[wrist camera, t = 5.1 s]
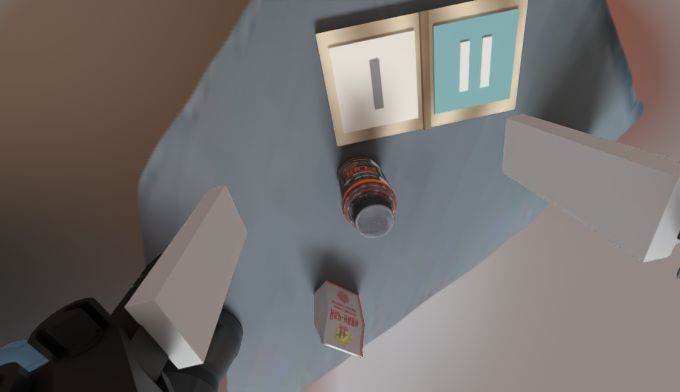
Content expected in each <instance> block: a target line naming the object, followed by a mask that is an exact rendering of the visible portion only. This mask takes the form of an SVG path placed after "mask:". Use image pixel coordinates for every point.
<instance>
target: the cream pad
mask: <svg viewBox="0 0 680 392" xmlns="http://www.w3.org/2000/svg"><path fill="white" fill-rule="evenodd" d="M328 49H329V55H330V60H331V66H332V72H333V77H334V83H335V88H336V94H337V99H338V105H339V110H340V116H341V121H342V127H343V133H348V132H353V131H358V130H363V129H368V128H372V127H377V126H382V125H387V124H391V123H396V122H401V121H406V120H410V119H415V118H418V97H417V75H416V53H415V31H409V32H405V33H400V34H395V35H390V36H386V37H381V38H376V39H371V40H366V41H362V42H357V43H352V44H347V45H343V46H338V47H333V48H328Z"/></svg>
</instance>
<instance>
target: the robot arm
mask: <svg viewBox="0 0 680 392" xmlns="http://www.w3.org/2000/svg"><path fill="white" fill-rule="evenodd" d="M502 173H504V174H505V175H507V176H508V177H510V178H512V179H513V180H515V181H516V182H518V183H519V184H521V185H523V186H524V187H526V188H527V189H529V190H530V191H532V192H533V193H535V194H537V195H538V196H540V197H541V198H543V199H544V200H546V201H548V202H549V203H551V204H552V205H554V206H555V207H557V208H558V209H560V210H562V211H563V212H565V213H566V214H568V215H570V216H571V217H573V218H574V219H576V220H577V221H579V222H581V223H582V224H583V225H585V226H587V227H589V228H590V229H591V230H593V231H594V232H596V233H598V234H599V235H601V236H602V237H604V238H605V239H607V240H609V241H610V242H612V243H613V244H615V245H616V246H618V247H619V248H621V249H623V250H624V251H626V252H627V253H629V254H630V255H632V256H634V257H635V258H637V259H638V260H640V261H641V262H647V261H652V260H656V259H661V258H664V257H669V256H670V254H671V251H672V250H673V247H674V245H675V243H676V241H677V239H679V240H680V161H677V160H673V159H670V158H667V157H664V156H660V155H657V154H654V153H650V152H647V151H644V150H641V149H637V148H634V147H630V146H627V145H624V144H620V143H617V142H614V141H611V140H608V139H604V138H601V137H598V136H594V135H591V134H588V133H584V132H581V131H578V130H575V129H571V128H568V127H565V126H561V125H558V124H555V123H551V122H548V121H545V120H542V119H538V118H535V117H532V116H528V115H525V114H520V115H516V116H512V117H508V118H506V129H505V142H504V154H503V167H502ZM246 235H247V230H246V228H245V226H244V224H243V222H242V220H241V217H240V215H239V213H238V211H237V209H236V207H235V204H234V202H233V200H232V198H231V196H230V194H229V192H228V189H227V187H226V185H223V186H219V187H214V188H210V189H209V190H208V191H207V193H206V194H205V195H204V197H203V198H202V200H201V201H200V202H199V204H198V205H197V207H196V208H195V209H194V211H193V212H192V213H191V215H190V216H189V218H188V219H187V220H186V222H185V223H184V225H183V226H182V227H181V229H180V230H179V232H178V233H177V234H176V236H175V237H174V239H173V240H172V241H171V243H170V244H169V246H168V247H167V248H166V250H165V251H164V253H161V254H160V255H159V256H158V257H157V258H155V259H154V260H153V261H152V262H151V263H150V264H148V266H147V267H146V268H145V270H144V271H143V272H142V274H141V275H140V278H138V279H137V281H136V282H135V283H134V285H133V287H132V288H131V289H130V290H129V291H128V293H127V294H126V295H125V297H124V298H123V299H122V301H121V302H120V303H119V305H118V306H117V307H116V309H115V310H114V311H113V313H112V314H111V315H110V314H109V313H108V312H106V310H105V309H104V308H103V307H102V306H101V305H100V304H99V303H98V302H97V301H96V300H95V299H94V298H84V299H81V300H77V301H75V302H73V303H71V304H69V305H67V306H64V307H63V308H61V309H60V310H58V311H57V312H55V313H53V314H52V315H50V316H49V317H48V318H47V319H45V320H44V321H43V322H42V323H41V324H40V325H39V326H38V327H37V328H36V329H35V330H34V331H33V332H32V334H31V335H30V337H29V339H28V341H19V342H15V343H11V344H9V345H7V346H5V347H3V348H1V349H0V392H217V391H218V387H219V384H220V382H221V381H222V379H223V377H224V376H225V374H226V372H227V370H228V369H229V367H230V365H231V363H232V362H233V360H234V358H235V357H236V356H237V354H238V352H239V349H240V345H241V341H242V336H243V332H242V328H241V325H240V324H239V322H238V321H237V320H236V318H235V317H234V316H232V315H231V314H230V313H228V312H227V311H225V310H223V309H222V307H223V304H224V301H225V298H226V295H227V292H228V289H229V286H230V283H231V280H232V277H233V274H234V271H235V268H236V265H237V262H238V259H239V256H240V253H241V250H242V247H243V244H244V241H245V238H246ZM677 278H679V279H680V269H679V270H678V272H677Z"/></svg>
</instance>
